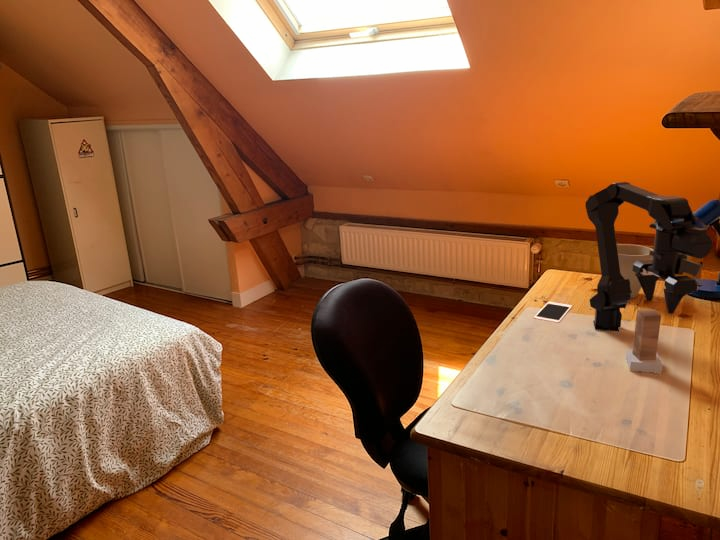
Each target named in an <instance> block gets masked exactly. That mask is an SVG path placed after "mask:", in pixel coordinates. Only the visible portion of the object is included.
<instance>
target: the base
mask: <svg viewBox="0 0 720 540" xmlns="http://www.w3.org/2000/svg"><path fill="white" fill-rule="evenodd" d="M632 351H633V349H626V351H625V352H626V353H625V361H626V360H627V361H626V364H627V363H628V364H627V367H628V366H629V367H628V369H630V370H631V371H630V370H629V371H630V372H638V371H642V372H641V373H649V372H656V373H655V374H660V373H661V374H662V371H663V370H662V369H663V363H662V361H661V359H660V356H659V354H658V353H657V354H656V360H640V361H639V360H638V359H637V358H636V357H635V356H634V355H633V354H632Z"/></svg>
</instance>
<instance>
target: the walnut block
mask: <svg viewBox="0 0 720 540" xmlns="http://www.w3.org/2000/svg"><path fill="white" fill-rule="evenodd" d="M661 320H662V314H661V313H659V312H658V311H657V310H656V309H654V308H652V309H651V308H644V309H636V316H635V323H634V335H633V344H632V350H633V351H632V354H633V355H634V356H635V357H636V358H637V359H638V360H639V361H640V360H656V354H658V345H659V344H658V343H659V336H660V330H661V329H660V328H661V322H662V321H661Z"/></svg>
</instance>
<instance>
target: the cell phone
mask: <svg viewBox="0 0 720 540" xmlns="http://www.w3.org/2000/svg"><path fill="white" fill-rule="evenodd" d="M572 308H573V305H572V304H566V303H560V302H554V301H547V303H546V304H544V306H543V307H542V308H541V309H540V310H539V311H538V312H537V314H535V315H534V316H533V319H535V320H540V321H546V322H552V323H560V322H562V320H563V318H564V317H565V316H566V315H567V314H568V313H569V311H570V310H571V309H572Z"/></svg>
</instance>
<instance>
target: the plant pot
mask: <svg viewBox="0 0 720 540" xmlns="http://www.w3.org/2000/svg"><path fill="white" fill-rule="evenodd" d="M617 250H618V258H619V266H620V273H621V275H622V276H623V277H624V279H629V281H630V289H631V292H632V293H630V294H631V297H630V299H634V298H636V297H637V296H638V294H639V292H640V291H641V290H642V287H641V285H640V282H639V280H638V278H637V276H636V275H635V273H636V272H634V271H632V270H633V264H634V263H635V262H636V261H642V260H653V256H652V255H649V253H650V251H653V250H654V248H651V247H649V246H648V247H647V246H643V245H637V244H629V243H628V244H624V243H623V244H619V243H617Z"/></svg>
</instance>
